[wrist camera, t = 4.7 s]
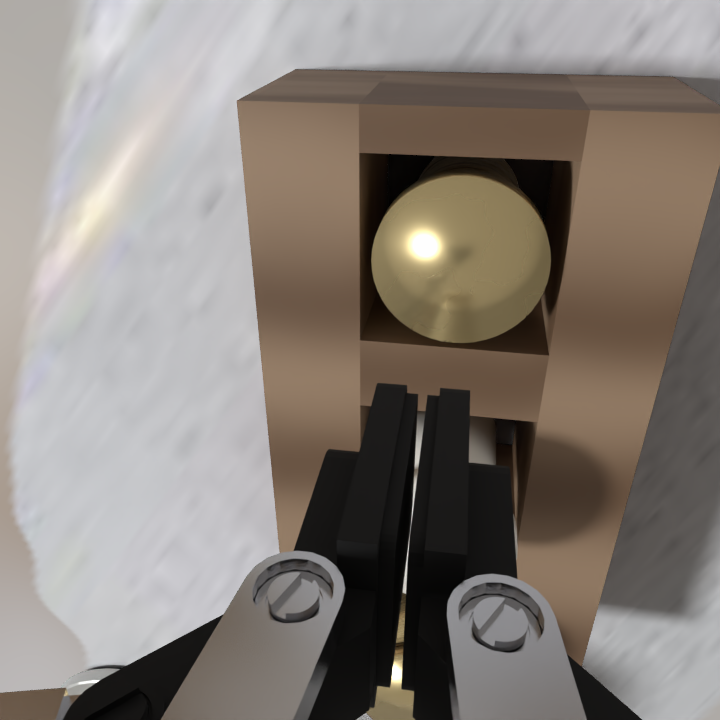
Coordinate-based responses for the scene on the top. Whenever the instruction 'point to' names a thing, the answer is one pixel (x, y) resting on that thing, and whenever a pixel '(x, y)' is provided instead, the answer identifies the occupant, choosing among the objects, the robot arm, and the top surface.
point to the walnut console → (512, 348)
